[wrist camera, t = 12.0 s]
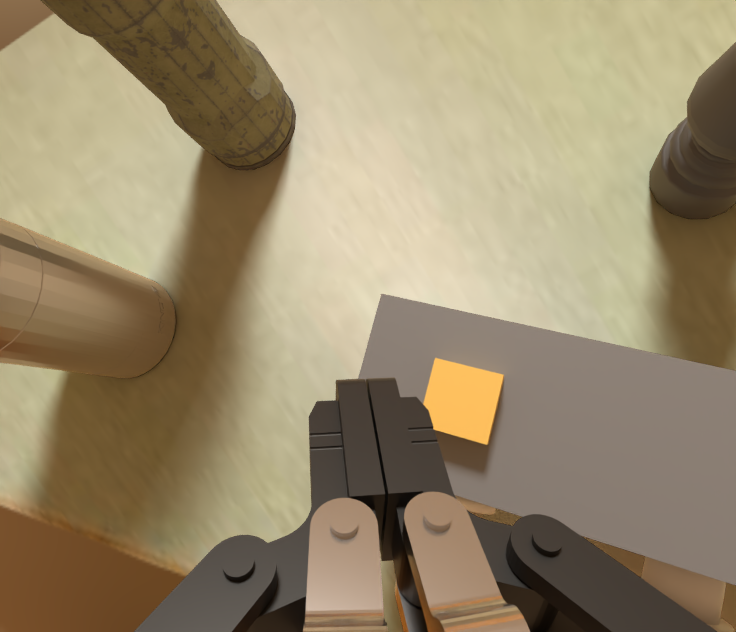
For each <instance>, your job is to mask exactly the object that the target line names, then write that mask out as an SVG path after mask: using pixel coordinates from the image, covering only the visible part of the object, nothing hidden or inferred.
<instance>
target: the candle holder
mask: <svg viewBox="0 0 736 632" xmlns="http://www.w3.org/2000/svg"><path fill="white" fill-rule="evenodd" d="M650 189H651V191H652V193H653V195H654V197H655V199H656V201H657V202H658V203H659V204H660V205H661V206H663V207H664V208H665V209H666V210H667V211H669V212H670V213H672V214H675V215H678V216H681V217H684V218H687V219H707V218H710V217H713V216H716V215H719V214H721V213H724V212H726V211H727V210H728V209H729V208H730V207H732V206H733V205H734V204H735V203H736V42H735V43H734V44H733V45H732V46H731V47H730V48H729V49H728V50H727V51H726V52H725V53H724V54H723V55H722V56H721V57H720V58H719V59H718V60H717V61H716V62H715V63H714V64H712V65H711V66H710V67H709V68H708V69H707V70H706V71H705V72H704V73H703V74H702V75H701V76H700V77H699V78H698V80H697V82H696V84H695V86H694V89H693V91H692V93H691V95H690V97H689V99H688V101H687V118H685V119H684V120H683V121H682V122H681V123H680V124H679V125H678V126H677V128H676V129H675V130H674V131H672V132H671V133H670V134H669V135H668V137H667V139H666V141H665V143H664V144H663V146H662V148H661V150H660V152H659V154H658V156H657V158H656V160H655V162H654V164H653V166H652V168H651V171H650Z"/></svg>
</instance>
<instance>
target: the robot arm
mask: <svg viewBox="0 0 736 632" xmlns="http://www.w3.org/2000/svg"><path fill="white" fill-rule="evenodd" d="M175 324H176V320H175V310H174V306H173V302H172V300H171V298H170V296H169V294H168V293H167V292H166V290H165V289H164V288H163V287H162V286H161V285H159V284H158V283H156V282H155V281H153V280H150V279H148V278H145V277H143V276H141V275H138V274H136V273H133V272H131V271H129V270H126V269H124V268H122V267H119V266H117V265H115V264H112V263H110V262H107V261H105V260H102V259H100V258H97V257H95V256H93V255H90V254H88V253H85V252H83V251H80V250H78V249H75V248H73V247H71V246H68V245H66V244H63V243H61V242H58V241H56V240H53V239H51V238H49V237H46V236H44V235H41V234H39V233H36V232H34V231H31V230H29V229H27V228H24V227H22V226H19V225H17V224H14V223H11V222H9V221H6V220H4V219H2V218H0V363H8V364H15V365H23V366H31V367H39V368H47V369H54V370H62V371H70V372H78V373H84V374H92V375H100V376H108V377H115V378H133V377H136V376H139V375H142V374H144V373H146V372H147V371H149V370H151V369H152V368H153V367H154V366H155V365H157V364H158V363H159V362H160V360H161V359H162V358H163V357H164V355H165V354H166V352H167V350H168V348H169V346H170V345H171V342H172V339H173V336H174V331H175ZM309 442H310V476H311V503H312V507H311V511H310V513H309V516H308V518H307V519H306V521H305V522H304V523H303V524H302V525H301V526H300V527H299V528H298V529H297V530H296V531H294V532H293V533H291V534H289V535H287V536H285V537H282V538H280V539H277V540H275V541H272V542H270V543H267V542H265V541H264V540H262V539H260V538H258V537H255V536H251V535H239V536H234V537H231V538H228V539H226V540H224V541H222V542H221V543H219V544H218V545H216V546H215V547H214V548H213V549H212V550H211V551H210V552H209V553H208V554H207V555H206V556H205V557H204V558H203V560H202V561H201V562H200V563H199V564H198V565H197V566H196V567H195V568H194V569H193V570H192V571H191V572H190V573H189V574H188V575H187V576H186V577H185V578H184V579H183V581H182V582H181V583H180V584H179V585H178V586H177V587H176V588H175V589H174V590H173V591H172V592H171V593H170V594H169V595H168V596H167V597H166V598H165V600H164V601H163V602H162V603H161V604H160V605H159V606H158V607H157V608H156V609H155V610H154V611H153V612H152V613H151V614H150V615H149V616H148V617H147V618H146V620H144V622H143V623H142V624H141V625H140V626H139V627H138V628H137V629H136V630H135V631H134V632H388V628H387V623H386V622H385V619H384V609H383V594H382V578H381V563H380V552H381V559H382V561H388V560H393V562H394V568H395V574H396V582H395V597H396V602H397V606H398V610H399V614H400V618H401V623H402V627H403V631H404V632H717V631H716V630H714V629H713V628H712V627H710V626H709V625H707V624H706V623H704V622H703V621H702V620H700V619H699V618H697V617H696V616H694V615H693V614H692V613H690V612H689V611H687V610H686V609H684V608H683V607H682V606H680V605H679V604H677V603H676V602H674V601H673V600H672V599H670V598H669V597H667V596H666V595H664V594H663V593H662V592H660V591H659V590H657V589H656V588H654V587H653V586H652V585H650V584H649V583H647V582H646V581H645V580H643V579H642V578H640V577H639V576H637V575H636V574H635V573H633V572H632V571H630V570H629V569H627V568H626V567H625V566H623V565H622V564H620V563H619V562H617V561H616V560H615V559H613V558H612V557H610V556H609V555H607V554H606V553H605V552H603V551H602V550H600V549H599V548H597V547H596V546H595V545H593V544H592V543H590V542H589V541H587V540H586V539H585V538H583V537H582V536H580V535H579V534H577V533H576V532H575V531H573V530H572V529H570V528H569V527H567V526H566V525H565V524H563V523H562V522H560V521H558V520H557V519H554V518H552V517H549V516H546V515H541V514H531V515H527V516H524V517H522V518H520V519H519V520H517V521H516V523H515V524H514V525H513V526H511V525H506V524H502V523H497V522H493V521H488V520H485V519H482V518H479V517H477V516H475V515H473V514H472V513H470V512H469V511H467V510H466V509H465V507H464V506H463V505H462V504H461V503H460V502H459V501H458V500H457V499H456V497H455V495H454V493H453V490H452V487H451V483H450V480H449V477H448V473H447V470H446V467H445V463H444V460H443V457H442V453H441V450H440V447H439V443H438V442H437V437H436V433H435V430H434V429H433V423H432V420H431V417H430V413H429V410H428V409H427V408H426V407H425V406H424V405H423V404H422V402H421V401H420V400H419V399H418V398H417V397H400V394H399V390H398V386H397V382H396V379H395V378H394V377H391V378H368V379H366V381H365V379H348V380H336V401H317V402H316V404H315V406H314V408H313V410H312V412H311V414H310V416H309Z"/></svg>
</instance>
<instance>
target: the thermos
mask: <svg viewBox="0 0 736 632" xmlns="http://www.w3.org/2000/svg"><path fill="white" fill-rule="evenodd" d="M41 1H42V2H43V3H44V4H45V5H46V6H47V7H49V8H50V9H51V10H52V11H53V12H54V13H55V14H56V15H57V16H58V17H60V18H61V19H62V20H63V21H64V22H65V23H66V24H67V25H69V26H70V27H72V28H73V29H75V30H76V31H78V32H79V33H81V34H84V35H87V36H90V37H93V38H94V39H95V40H96V41H97V42H98V43H99V44H100V45H101V46H102V47H104V48H105V49H106V50H107V51H108V52H109V53H110V54H111V55H112V56H113V57H114V58H115V59H117V60H118V61H119V62H120V63H121V64H122V65H123V66H124V67H125V68H126V69H127V70H128V71H130V72H131V73H132V74H133V75H134V76H135V77H136V78H137V79H138V80H139V81H140V82H141V83H142V84H144V85H145V86H146V87H147V88H148V89H149V90H150V91H151V92H152V93H153V94H154V95H155V96H157V97H158V98H159V99H160V100H161V101H162V102H163V103H164V104H165V105H166V107H167V110H168V112H169V114H170V115H171V117H172V118H173V120H174V122H175V123H176V124H177V125H178V126H179V127H180V128H181V129H182V130H184V131H185V132H186V133H187V134H188V135H189V136H190V137H191V138H192V139H194V140H195V141H196V142H197V143H198V144H199V145H200V146H201V147H203V148H204V149H205V150H207V151H208V152H210V153H211V154H212V155H215V157H216V158H217V159H218V160H220V161H221V162H223V163H224V164H225V165H227V166H228V167H231V168H235V169H238V170H249V169H256V168H258V167H261V166H263V165H266V164H268V163H270V162H271V161H272V160H273V159H275V158H276V157H277V156H279V155H280V154H281V153H282V151H283V150H284V149H285V147H286V146H287V145H288V143H289V142H290V139H291V137H292V134H293V132H294V129H295V119H296V114H295V110H294V106H293V102H292V101H291V99H290V98H289V97H288V95H287V94H286V92H285V91H284V89H283V85H282V83H281V81H280V80H279V79H278V77H277V76H276V74H275V73H274V71H273V70H272V68H271V67H270V65H269V64H268V62H267V61H266V59H265V58H264V56H263V55H262V54H261V52H260V51H259V49H258V48H257V47H256V45H255V44H254V43H253V42H251V41H250V40H248V39H246V38H245V37H243V36H241V35H240V34H239V33H238V31H237V30H236V28H235V27H234V25H233V24H232V23H231V21H230V20H229V18H228V17H227V15H226V14H225V13H224V11H223V10H222V8H221V7H220V5H219V4H218V3H217V1H216V0H41Z"/></svg>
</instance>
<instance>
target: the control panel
mask: <svg viewBox="0 0 736 632" xmlns="http://www.w3.org/2000/svg"><path fill="white" fill-rule="evenodd" d="M391 377H394V378H395V379H396V382H397V386H398V390H399V394H400V397H417V398H418V399H419V400H420V401H421V402H422V404H423V405H424V406H425V407H426V408H427V409H428V410H429V413H430V417H431V420H432V423H433V429H434V430H435V433H436V437H437V442H438V443H439V447H440V450H441V453H442V457H443V460H444V463H445V467H446V470H447V473H448V477H449V480H450V483H451V487H452V490H453V493H454V495H456V496H460V497H463V498H466V499H469V500H472V501H475V502H478V503H481V504H484V505H487V506H491V507H494V508H497V509H500V510H503V511H506V512H509V513H512V514H515V515H519V516H522V517H524V516H527V515H531V514H541V515H546V516H549V517H552V518H554V519H557V520H558V521H560V522H562V523H563V524H565V525H566V526H567V527H569V528H570V529H572V530H573V531H575V532H576V533H577V534H579V535H581V536H584V537H587V538H590V539H593V540H596V541H599V542H602V543H605V544H609V545H612V546H615V547H618V548H621V549H624V550H627V551H630V552H633V553H636V554H640V555H643V556H646V557H649V558H652V559H655V560H658V561H661V562H664V563H668V564H671V565H674V566H677V567H680V568H683V569H686V570H689V571H692V572H695V573H699V574H702V575H705V576H708V577H711V578H714V579H717V580H720V581H723V582H727V583H730V584H733V585H736V371H734V370H730V369H725V368H720V367H716V366H711V365H707V364H702V363H697V362H693V361H688V360H684V359H679V358H674V357H670V356H665V355H661V354H656V353H651V352H647V351H642V350H638V349H633V348H628V347H624V346H619V345H615V344H610V343H605V342H601V341H596V340H592V339H587V338H583V337H578V336H573V335H569V334H564V333H560V332H555V331H550V330H546V329H541V328H537V327H532V326H527V325H523V324H518V323H514V322H509V321H504V320H500V319H495V318H491V317H486V316H481V315H477V314H472V313H468V312H463V311H458V310H454V309H449V308H445V307H440V306H435V305H431V304H426V303H422V302H417V301H412V300H408V299H403V298H399V297H394V296H390V295H385V294H381V298H380V301H379V305H378V309H377V312H376V316H375V320H374V323H373V327H372V331H371V334H370V338H369V342H368V345H367V349H366V353H365V356H364V360H363V363H362V367H361V371H360V374H359V378H358V379H365V381H366V379H368V378H391Z"/></svg>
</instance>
